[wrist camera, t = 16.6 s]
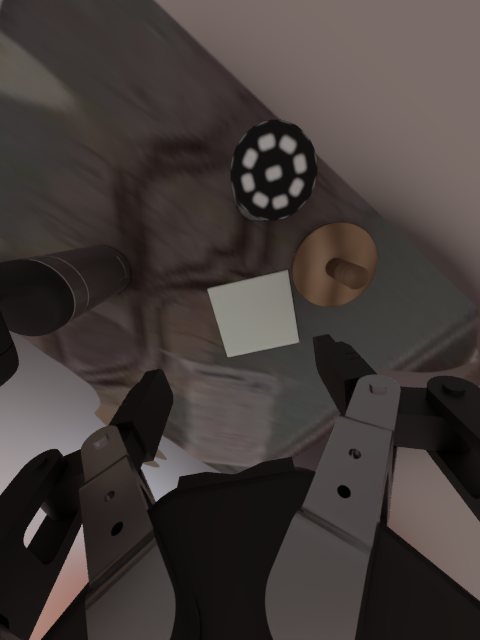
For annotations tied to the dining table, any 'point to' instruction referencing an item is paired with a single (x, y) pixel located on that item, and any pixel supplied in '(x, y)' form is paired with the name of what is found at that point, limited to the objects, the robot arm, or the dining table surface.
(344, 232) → the walnut lid
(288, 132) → the spotted tube
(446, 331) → the dining table surface
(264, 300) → the rubber mat
